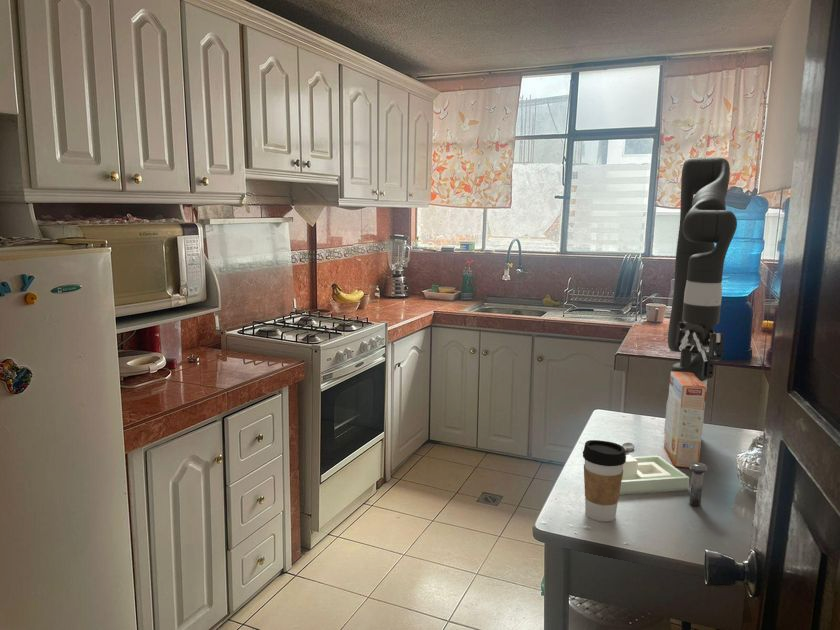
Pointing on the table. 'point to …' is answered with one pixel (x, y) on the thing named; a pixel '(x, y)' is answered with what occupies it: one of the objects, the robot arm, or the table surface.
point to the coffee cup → (602, 478)
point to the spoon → (628, 446)
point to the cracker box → (684, 418)
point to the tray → (656, 479)
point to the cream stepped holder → (642, 470)
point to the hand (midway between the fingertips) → (695, 372)
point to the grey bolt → (696, 483)
